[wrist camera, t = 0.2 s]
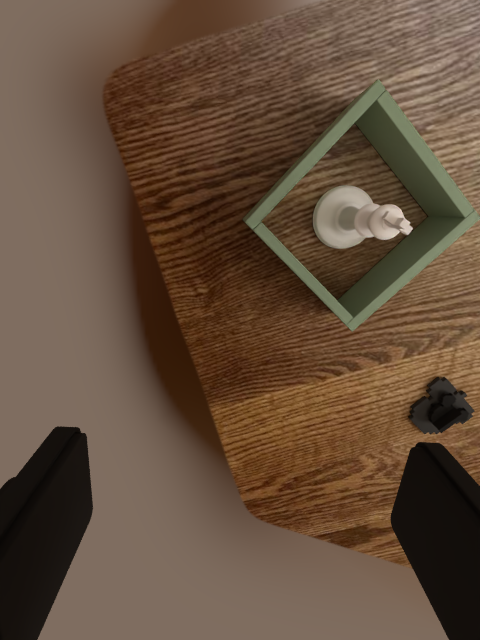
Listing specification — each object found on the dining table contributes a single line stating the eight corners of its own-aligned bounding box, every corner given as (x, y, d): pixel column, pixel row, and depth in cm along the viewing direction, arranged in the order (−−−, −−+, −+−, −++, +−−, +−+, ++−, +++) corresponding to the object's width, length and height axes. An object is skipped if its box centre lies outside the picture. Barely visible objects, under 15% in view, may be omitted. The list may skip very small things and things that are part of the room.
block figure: (410, 421, 31) (461, 383, 30) (398, 406, 33) (445, 371, 32) (445, 457, 32) (495, 423, 31) (431, 441, 34) (477, 408, 33)
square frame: (352, 100, 24) (378, 78, 20) (441, 216, 27) (481, 218, 23) (241, 219, 27) (244, 221, 22) (334, 313, 29) (352, 331, 25)
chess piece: (348, 259, 28) (409, 286, 18) (300, 228, 27) (339, 240, 18) (385, 207, 27) (471, 207, 17) (336, 172, 26) (399, 152, 16)
